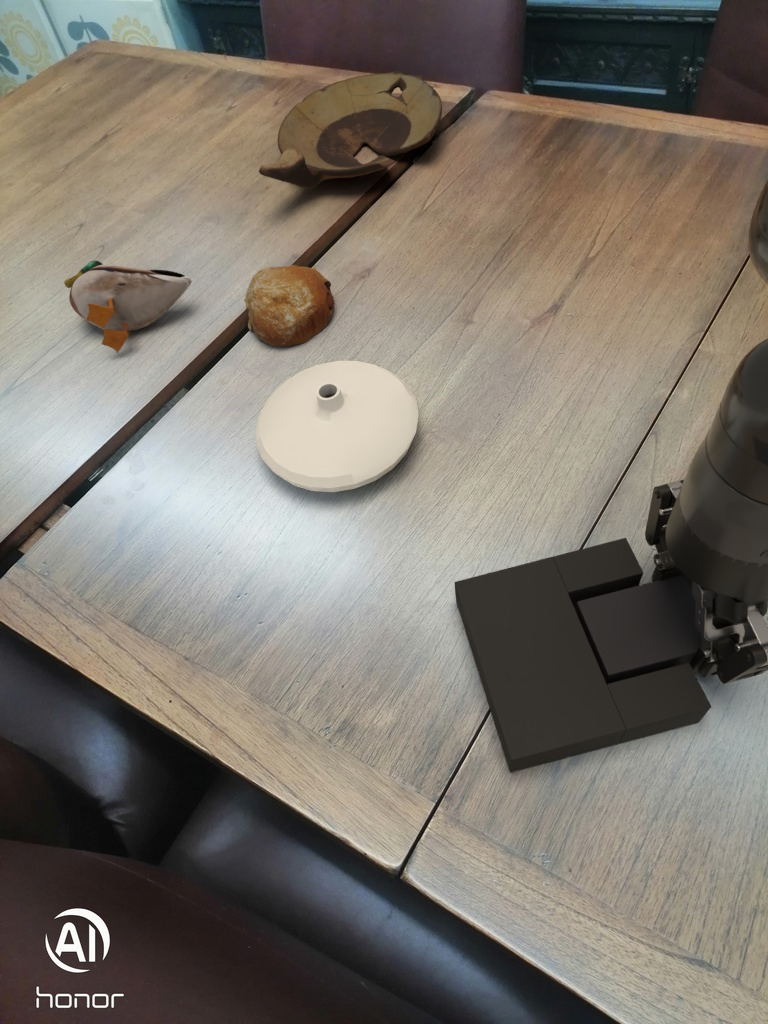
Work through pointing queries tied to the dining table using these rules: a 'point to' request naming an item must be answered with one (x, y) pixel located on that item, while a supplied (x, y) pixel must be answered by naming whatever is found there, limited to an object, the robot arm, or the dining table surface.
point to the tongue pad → (641, 628)
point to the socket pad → (564, 660)
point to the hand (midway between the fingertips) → (682, 627)
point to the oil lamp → (354, 127)
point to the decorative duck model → (123, 297)
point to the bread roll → (288, 304)
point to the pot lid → (337, 426)
